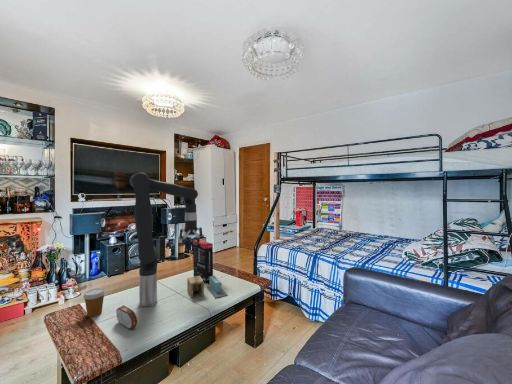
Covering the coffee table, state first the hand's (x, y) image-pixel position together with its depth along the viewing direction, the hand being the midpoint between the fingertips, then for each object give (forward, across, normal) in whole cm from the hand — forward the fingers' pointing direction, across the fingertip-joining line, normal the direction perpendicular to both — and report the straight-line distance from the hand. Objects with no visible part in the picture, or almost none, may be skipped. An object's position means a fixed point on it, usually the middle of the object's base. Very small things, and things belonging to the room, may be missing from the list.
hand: (191, 244), depth 155 cm
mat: (+30, +14, -10) cm, 35 cm away
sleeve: (+30, +1, -7) cm, 31 cm away
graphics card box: (+30, +12, +16) cm, 36 cm away
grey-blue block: (+30, +14, -6) cm, 33 cm away
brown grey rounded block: (+30, -37, -26) cm, 54 cm away
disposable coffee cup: (+30, -52, -6) cm, 60 cm away
